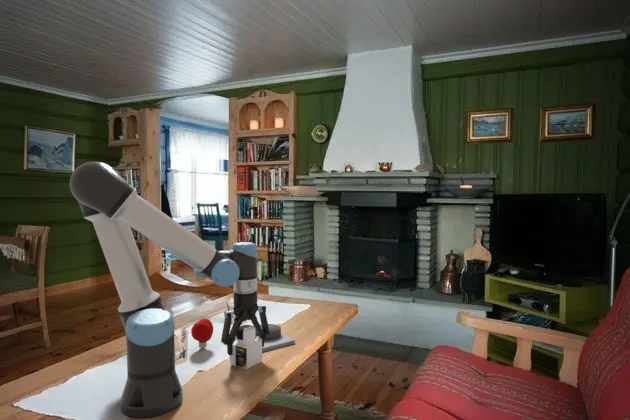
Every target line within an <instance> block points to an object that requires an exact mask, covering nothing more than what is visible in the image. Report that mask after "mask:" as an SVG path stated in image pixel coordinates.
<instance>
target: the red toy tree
mask: <svg viewBox="0 0 630 420" xmlns="http://www.w3.org/2000/svg"><path fill="white" fill-rule="evenodd" d="M190 333H191V336H192V338H193V339H194V341H197V342H198V348H199V349H201V350H205V348H207V343H208V341H210V340H211V339H212V336H213V334H214V325H213V322H212V321H211V319H209V318H201V319H199V320H198V321H196V322H195V323H194V324H193V325H192V327H191V330H190Z"/></svg>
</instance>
